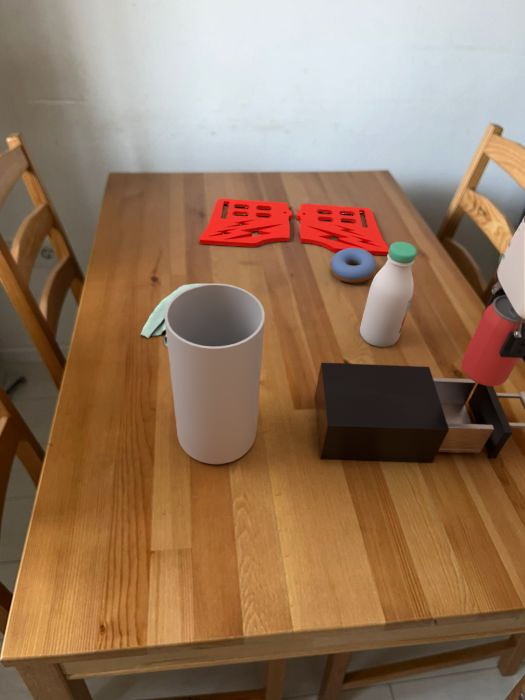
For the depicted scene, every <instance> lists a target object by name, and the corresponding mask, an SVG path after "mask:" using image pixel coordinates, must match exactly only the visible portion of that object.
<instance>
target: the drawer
mask: <svg viewBox="0 0 525 700" xmlns="http://www.w3.org/2000/svg"><path fill="white" fill-rule="evenodd" d="M433 380H434V384H435V387H436V390H437V393H438V396H439V399H440V403H441V406H442V409H443V412H444V415H445V419H446V422H447V425H448V428H449V431H448V433H447V435H446V437H445V439H444V441H443V443H442V445H441V447H440V449H439V451H438V453H458V454H459V453H460V454H461V453H463V454H464V453H465V454H480V453H481V452H482V450H483V449H485V452H486V455H487V458H488V459H497V458H498V456H499V455H500V453H501V451H502V450H503V448H504V447H505V446H506V444H507V443H508V441H509V440H510V438H511V436H512V435H513V433H514V432H513V430H512V429H525V422H509V419H508V418H507V415H506V412H505V411H504V409H503V406H502V404H501V401H500V399H519V401H520V403H521V405H522V407H523V409H524V410H525V390H523V391H520V392H519V393H516V392H515V393H514V392H513V393H511V392H496V389H495V386H485V385H481V384H479V383H476V382H474V381H473V380H471V379H470V378H453V377H433ZM475 385H476V386H475ZM473 389H474V390H473ZM472 391H473V392H472ZM471 393H472V394H471ZM470 395H471V396H470ZM467 403H468V406H469V409H470V412H471V415H472V417H473V420H474V422H475V423H472V421H471V418H470V415H469V412H468V410H467V406H466V404H467Z"/></svg>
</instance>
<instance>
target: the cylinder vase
mask: <svg viewBox="0 0 525 700" xmlns="http://www.w3.org/2000/svg"><path fill="white" fill-rule="evenodd" d="M202 284H203V285H198V286H194V287H191V288H188V289H186V290H184V291H182V292H180V293H179V294H177V295H176V296H175V297H174V298H173V299H172V300H171V301H170V302H169V304H168V305H167V307H166V310H165V325H166V330H165V335H167V344H168V347H167V353H168V362H169V370H170V380H171V390H172V398H173V407H174V416H175V425H176V435H177V440H178V443H179V445H180V446H181V448H182V450H183V451H184V452H185V453H186V454H187V455H188V456H189V457H191V458H192V459H194V460H196V461H198V462H201V463H204V464H208V465H224V464H228V463H232V462H234V461H236V460H238V459H240V458H242V457H243V456H244V455H246V454H247V453H248V452H249V451H250V449H251V448H252V446H253V445H254V443H255V441H256V437H257V431H258V416H259V403H260V402H259V401H260V389H261V374H262V360H263V347H264V333H265V332H264V331H265V319H266V318H265V317H266V314H265V309H264V306H263V305H262V303H261V301H260V300H259V299H258V298H257V296H255V295H254V294H253V293H252V292H250V291H248V290H246V289H244V288H242V287H239V286H235V285H232V284H226V283H217V282H216V283H208V284H206V283H202Z"/></svg>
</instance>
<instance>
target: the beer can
mask: <svg viewBox="0 0 525 700" xmlns="http://www.w3.org/2000/svg"><path fill="white" fill-rule="evenodd" d="M484 310H485V309H484ZM484 310H483V312H484V313H483V312H482V314H483V315H482V314H481V317H480V320H479V322H478V324H477V327H476V328H475V330H474V333H473V335H472V337H471V339H470V342H469V344H468V345H467V348H466V350H465V353H464V354H463V357H462V359H461V362H460V363H461V364H460V365H461V369H462V371H463V373H464V375H465V376H466V377H467V378H468V379H471V380H473V381H474V382H476V384H478V383H479V384H481V385H485V386H493V387H497V386H500V385H503V384H505V382H506V381H507V380H508V379H509V377H510V375H511V374H512V372H513V370H514V369H515V367H516V365H517V364H518V361H519V360H520V358H510V357H501V356H500V354H499V352H500V350H501V348H502V346H503V344H504V342H505V340H506V338H507V336H508V335H509V333H510V332H514V330H515V325H516V321H517V316H518V314H517V312H516V311H515V309H514V308H513V306H512V304H511V302H510V301H509V299H508V297H507V295H502V296H499V297H497V298H496V299H495V300H494V301H493V303H492V304H491V305H490V306H488V307H487V309H486V310H485V311H484ZM524 328H525V327H524Z"/></svg>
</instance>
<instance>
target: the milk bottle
mask: <svg viewBox="0 0 525 700" xmlns="http://www.w3.org/2000/svg"><path fill="white" fill-rule="evenodd" d="M417 254H418V250H417V248H416V247H415V246H414V245H413V244H411V243H409V242H406V241H395V242H393V243H391V244H390V246H389V252H388V255H386V256H387V260H386V262H385V263H384V265H383V266H382V267H381V268H380V269H379V271H377V273H376V275H375V276H374V277H373V280H372V282H371V283H370V287H369V290H368V295H367V298H366V302H365V306H364V310H363V315H362V319H361V322H360V327H359V333H360V336H361V338H362V339H363V340H364V341H365V342H366V343H367V344H369V345H371V346H374V347H378V348H387V347H391V346H393V345H395V344H396V343H397V342H398V341H399V338H400V335H401V333H402V330H403V327H404V324H405V321H406V317H407V316H408V315H407V314H408V311H409V309H410V305H411V302H412V299H413V295H414V290H415V289H414V287H415V286H414V285H415V283H414V278H413V273H412V265H413V264H414V263H415V259H416V257H417Z"/></svg>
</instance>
